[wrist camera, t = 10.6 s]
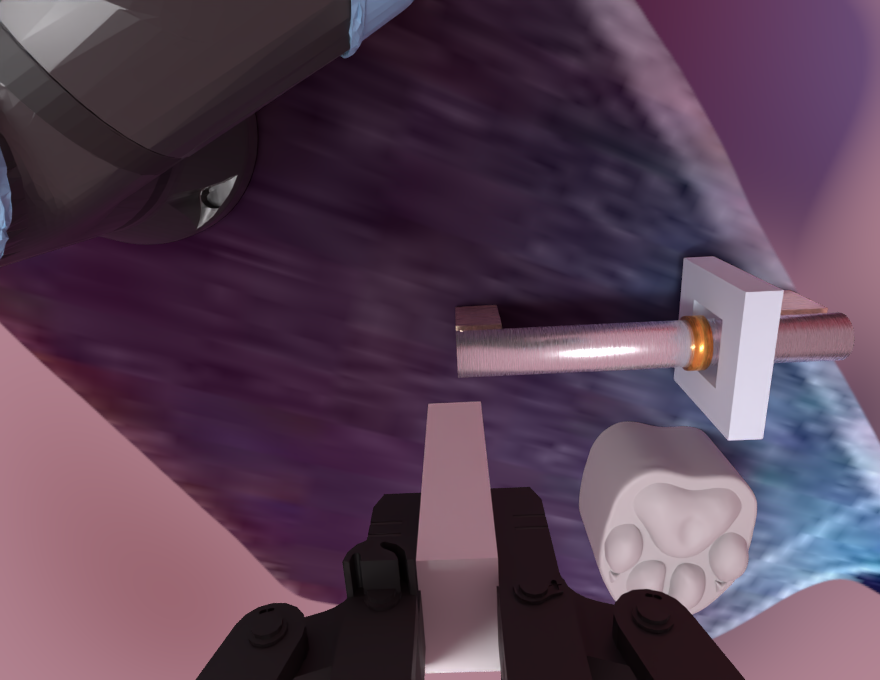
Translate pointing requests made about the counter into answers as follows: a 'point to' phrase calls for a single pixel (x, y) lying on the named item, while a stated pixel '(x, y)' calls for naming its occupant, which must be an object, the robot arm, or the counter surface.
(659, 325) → the pipe rig
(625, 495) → the lumpy-topped squat cylinder
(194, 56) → the robot arm
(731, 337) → the white square holed plate
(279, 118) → the counter surface
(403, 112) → the counter surface
